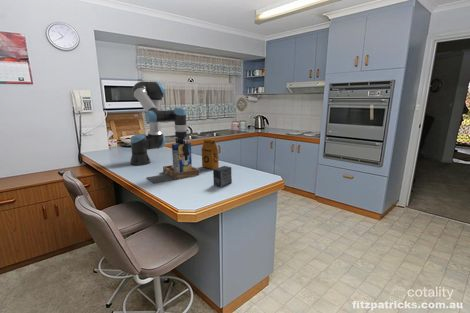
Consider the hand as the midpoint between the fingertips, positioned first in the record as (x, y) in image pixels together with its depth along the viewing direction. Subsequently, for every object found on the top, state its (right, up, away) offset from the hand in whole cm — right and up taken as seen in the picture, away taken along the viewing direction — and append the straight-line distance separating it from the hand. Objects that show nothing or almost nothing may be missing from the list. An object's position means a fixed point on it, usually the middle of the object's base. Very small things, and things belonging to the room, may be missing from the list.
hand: (182, 163), depth 173 cm
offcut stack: (-7, -6, +10) cm, 14 cm away
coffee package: (+18, -4, +20) cm, 27 cm away
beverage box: (0, -8, +2) cm, 8 cm away
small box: (+29, -13, -17) cm, 36 cm away
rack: (-2, -7, +5) cm, 9 cm away
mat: (-13, -10, -7) cm, 18 cm away
